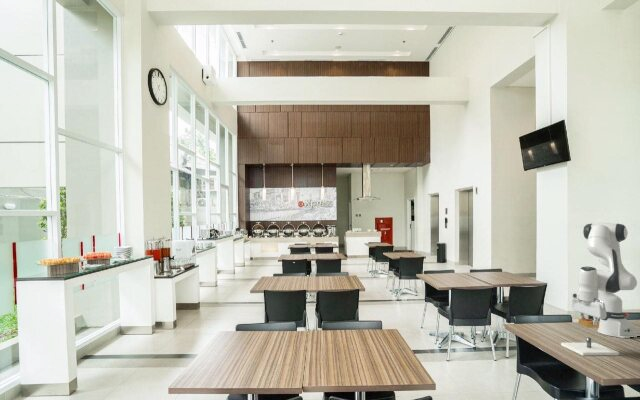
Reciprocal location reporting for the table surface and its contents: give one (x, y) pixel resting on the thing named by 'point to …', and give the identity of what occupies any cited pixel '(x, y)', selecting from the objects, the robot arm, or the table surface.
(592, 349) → the plate
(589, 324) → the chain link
